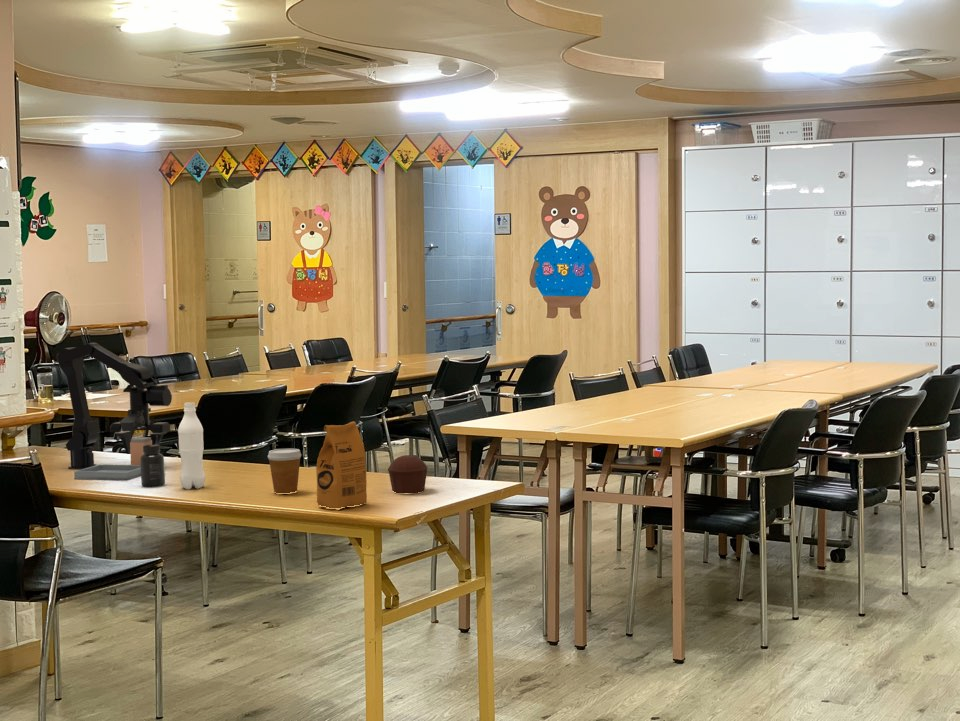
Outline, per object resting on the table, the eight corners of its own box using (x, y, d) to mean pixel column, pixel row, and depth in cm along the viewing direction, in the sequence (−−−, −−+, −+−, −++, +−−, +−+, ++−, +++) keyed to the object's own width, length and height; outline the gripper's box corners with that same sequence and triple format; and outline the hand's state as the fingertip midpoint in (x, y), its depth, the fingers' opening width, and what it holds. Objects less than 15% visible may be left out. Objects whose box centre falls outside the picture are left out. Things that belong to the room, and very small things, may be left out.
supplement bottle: (168, 483, 353) (167, 443, 352) (160, 487, 347) (158, 447, 346) (146, 483, 354) (144, 443, 353) (137, 487, 347) (135, 447, 346)
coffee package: (311, 507, 311) (308, 424, 309) (347, 500, 320) (345, 419, 318) (335, 512, 304) (333, 427, 303) (372, 504, 313) (369, 422, 312)
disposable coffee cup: (262, 492, 334) (261, 450, 333) (292, 488, 340) (291, 447, 339) (278, 497, 327) (277, 454, 326) (309, 493, 332) (307, 450, 332)
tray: (74, 479, 365) (74, 471, 365) (99, 471, 378) (99, 464, 378) (126, 480, 360) (126, 472, 360) (150, 472, 374) (150, 465, 374)
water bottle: (210, 486, 347) (207, 401, 345) (196, 490, 340) (193, 404, 339) (189, 485, 349) (185, 401, 348) (175, 489, 343) (171, 403, 341)
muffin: (390, 488, 338) (389, 453, 337) (429, 487, 337) (428, 452, 337) (386, 495, 326) (385, 459, 325) (427, 494, 326) (426, 458, 325)
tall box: (131, 470, 380) (129, 439, 380) (139, 467, 385) (138, 437, 385) (145, 470, 379) (143, 439, 379) (153, 467, 384) (151, 437, 383)
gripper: (99, 408, 375) (101, 457, 376) (152, 408, 371) (154, 458, 372) (118, 404, 386) (120, 452, 387) (170, 405, 381) (172, 453, 383)
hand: (141, 453), depth 382 cm, fingers open, 9 cm apart
